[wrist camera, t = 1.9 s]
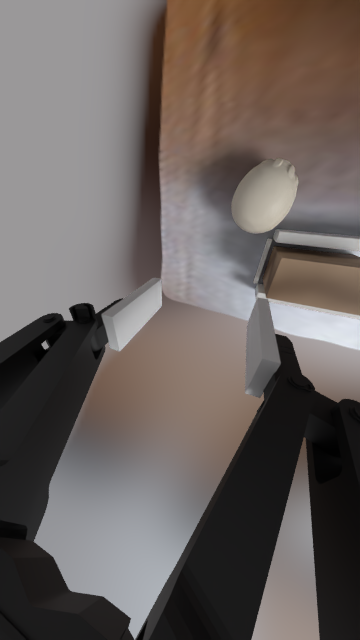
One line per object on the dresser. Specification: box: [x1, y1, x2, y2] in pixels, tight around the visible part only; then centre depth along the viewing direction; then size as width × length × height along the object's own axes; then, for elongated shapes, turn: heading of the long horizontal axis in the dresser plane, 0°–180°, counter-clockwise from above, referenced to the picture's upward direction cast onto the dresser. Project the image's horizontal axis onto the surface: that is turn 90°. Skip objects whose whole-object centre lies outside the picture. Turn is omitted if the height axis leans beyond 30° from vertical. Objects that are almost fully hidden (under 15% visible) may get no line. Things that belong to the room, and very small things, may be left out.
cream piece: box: [231, 158, 299, 234], centre depth 20 cm, size 7×7×7 cm
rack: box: [253, 229, 360, 320], centre depth 23 cm, size 9×17×4 cm, turn 86°
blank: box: [262, 246, 360, 316], centre depth 22 cm, size 5×10×8 cm, turn 87°
